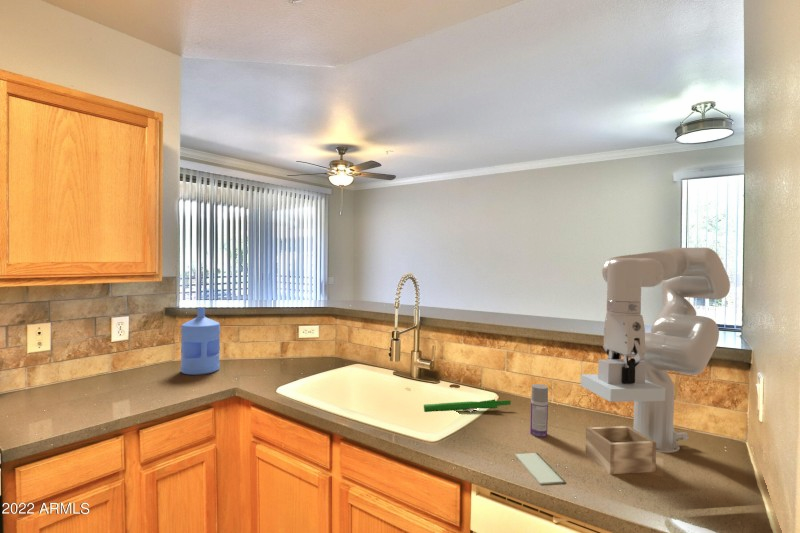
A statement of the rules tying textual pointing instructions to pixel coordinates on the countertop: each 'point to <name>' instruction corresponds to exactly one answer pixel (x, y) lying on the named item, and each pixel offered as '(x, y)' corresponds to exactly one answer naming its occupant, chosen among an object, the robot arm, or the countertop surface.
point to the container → (539, 410)
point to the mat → (539, 468)
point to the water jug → (200, 345)
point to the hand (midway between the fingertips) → (621, 379)
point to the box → (620, 449)
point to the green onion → (464, 405)
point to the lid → (613, 388)
